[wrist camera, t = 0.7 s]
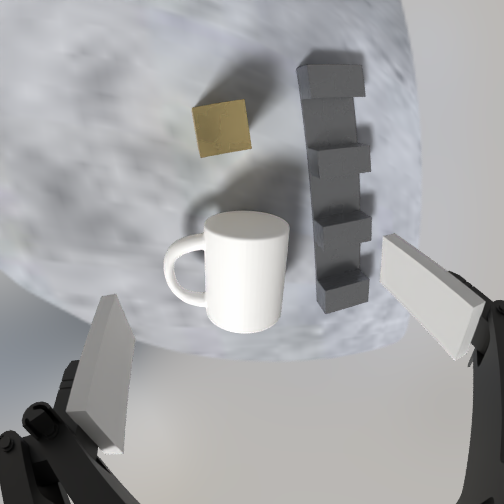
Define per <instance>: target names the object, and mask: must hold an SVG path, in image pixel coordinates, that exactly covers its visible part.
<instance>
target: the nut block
mask: <svg viewBox="0 0 504 504" xmlns="http://www.w3.org/2000/svg"><path fill="white" fill-rule="evenodd" d="M192 116H193V122H194V127H195V133H196V139H197V144H198V150H199V153H200V157H201V158H203V157H208V156H213V155H218V154H224V153H229V152H235V151H241V150H247V149H252V147H251V140H250V133H249V126H248V120H247V113H246V107H245V100H244V99H242V100H235V101H228V102H221V103H215V104H210V105H204V106H198V107H193V108H192Z"/></svg>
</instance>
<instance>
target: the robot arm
mask: <svg viewBox="0 0 504 504" xmlns="http://www.w3.org/2000/svg"><path fill="white" fill-rule="evenodd" d="M380 283H381V284H382V285H383V286H384V287H385V288H386V289H387V290H388V291H389V292H390V293H391V294H392V295H393V296H394V297H395V298H396V299H397V300H398V301H399V302H400V303H401V304H402V305H403V306H404V307H405V308H406V309H407V310H408V311H409V312H410V313H411V314H412V315H413V316H414V318H415V319H416V320H417V321H418V322H419V323H420V324H421V325H422V326H423V327H424V328H425V329H426V330H427V331H428V332H429V333H430V334H431V335H432V337H433V338H434V339H435V340H436V341H437V342H438V343H439V344H440V345H441V346H442V347H443V349H444V350H446V352H447V353H448V354H449V355H450V356H451V357H452V359H454V361H455V360H457V359H459V358H460V357H462V356H464V355H466V354H467V352H468V349H469V347H470V344H471V343H472V345H474V347H475V349H474V351H473V354H472V356H471V359H470V361H469V363H468V367H470V365H471V363H472V362H473V373H474V374H473V377H474V378H473V386H474V387H473V413H472V428H471V438H470V448H469V455H468V462H467V469H466V476H465V480H464V486H463V490H462V494H461V496H460V498H459V500H458V502H457V503H456V504H504V301H503V300H496V301H494V302H493V301H491V300H490V299H489V298H488V297H486V296H485V295H484V294H483V293H481V292H480V291H479V290H478V289H476V288H475V287H472V285H471V284H470V283H469V282H466V280H465V279H464V278H462V277H461V276H460V275H458V274H456V273H453V272H451V271H446V270H445V269H444V268H442V267H441V266H440V265H438V264H437V263H436V262H434V261H433V260H431V259H430V258H429V257H428V256H426V255H425V254H423V253H422V252H421V251H419V250H418V249H416V248H415V247H414V246H412V245H411V244H409V243H408V242H407V241H405V240H404V239H402V238H401V237H399V236H398V235H396V234H395V233H394V234H390V235H386V236H383V244H382V259H381V272H380ZM134 346H135V337H134V334H133V332H132V330H131V328H130V325H129V323H128V321H127V319H126V316H125V314H124V312H123V309H122V307H121V305H120V302H119V300H118V297H117V295H116V294H112V295H107V296H102V297H101V299H100V302H99V305H98V307H97V310H96V313H95V316H94V318H93V321H92V324H91V327H90V330H89V333H88V336H87V339H86V342H85V345H84V349H83V351H82V355H81V358H80V360H75V361H71V363H70V364H69V365H68V367H67V368H66V369H65V371H64V374H63V378H62V382H61V384H60V390H59V391H58V394H57V397H56V402H55V405H54V408H53V409H52V408H51V406H50V405H49V404H48V403H46V402H36V403H34V404H32V405H31V406H30V407H29V408H27V410H26V411H25V413H24V414H23V418H22V424H23V427H24V428H25V429H26V430H27V431H28V432H29V433H30V434H31V435H29V436H26V437H23V438H21V437H20V436H19V435H18V434H17V433H16V432H15V431H12V430H10V431H6V432H4V433H3V434H1V436H0V486H1V491H2V497H3V501H4V504H71V503H70V500H69V498H68V495H69V497H70V498H71V500H72V501H73V503H74V504H140V503H139V502H138V501H137V500H136V499H135V498H134V497H133V496H132V495H131V494H130V493H129V491H128V490H127V489H126V488H125V487H124V486H123V485H122V484H121V483H120V482H119V481H118V479H117V478H116V477H115V476H114V475H113V473H112V472H111V471H110V470H109V469H108V467H107V466H106V465H105V464H104V462H103V461H102V460H101V459H100V458H99V457H98V456H97V451H98V447H99V448H100V449H101V450H102V451H103V452H104V453H105V454H123V453H124V439H125V438H124V437H125V424H126V413H127V401H128V392H129V383H130V375H131V366H132V359H133V352H134ZM67 494H68V495H67Z"/></svg>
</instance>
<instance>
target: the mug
mask: <svg viewBox="0 0 504 504" xmlns="http://www.w3.org/2000/svg"><path fill="white" fill-rule="evenodd" d="M289 230H290V227H289V224H288V223H287V222H286V221H285V220H284V219H282V218H280V217H278V216H275V215H272V214H268V213H263V212H256V211H229V212H223V213H219V214H216V215H213V216H211V217H209V218H208V219H207V220H206V221H205V223H204V232H203V233H201V234H194V235H189V236H186V237H183V238H181V239H179V240H177V241H175V242H174V243H173V244H172V245H171V246H170V247H169V248H168V250H167V252H166V254H165V258H164V274H165V278H166V281H167V283H168V285H169V287H170V289H171V290H172V291H173V293H174V294H175V295H176V296H177V297H178V298H180V299H181V300H182V301H184V302H186V303H188V304H191V305H195V306H201V307H206V312H207V315H208V317H209V319H210V320H211V321H212V322H213V323H214V324H215V325H217V326H218V327H220V328H222V329H224V330H227V331H231V332H236V333H255V332H259V331H263V330H265V329H268V328H270V327H271V326H273V325H274V324H275V323H276V322H277V321H278V320H279V318H280V315H281V309H282V300H283V291H284V281H285V272H286V262H287V252H288V241H289ZM196 250H204V254H205V289H206V290H205V292H193V291H189V290H186V289H184V288H183V287H182V286H181V285H180V284H179V283H178V281H177V279H176V276H175V272H174V263H175V261H176V260H177V258H179V257H180V256H181V255H183V254H185V253H188V252H191V251H196Z"/></svg>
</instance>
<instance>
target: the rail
mask: <svg viewBox="0 0 504 504" xmlns="http://www.w3.org/2000/svg"><path fill="white" fill-rule="evenodd" d="M296 70H297V77H298V84H299V91H300V99H301V106H302V114H303V122H304V131H305V140H306V149H307V159H308V169H309V180H310V191H311V204H312V217H313V232H314V248H315V268H316V292H317V302H318V304H319V305H320V307H321V308H322V310H323V311H324V313H325V314H328V313H331V312H335V311H338V310H342V309H345V308H348V307H352V306H355V305H358V304H362V303H365V302H368V294H369V280H370V279H369V278H368V277H367V276H366V275H365V274H364V273H363V272H362V271H361V270H360V269H359V264H360V243H362V242H367V241H371V228H372V217H370V216H368V215H367V214H365V213H364V212H362V211H360V192H359V173H364V172H371V160H370V146H369V145H365V144H360V143H357V136H356V124H355V113H354V103H353V97H366V95H365V87H364V79H363V71H362V65H345V64H311V65H304V66H302V67H299V68H297V69H296Z"/></svg>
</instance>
